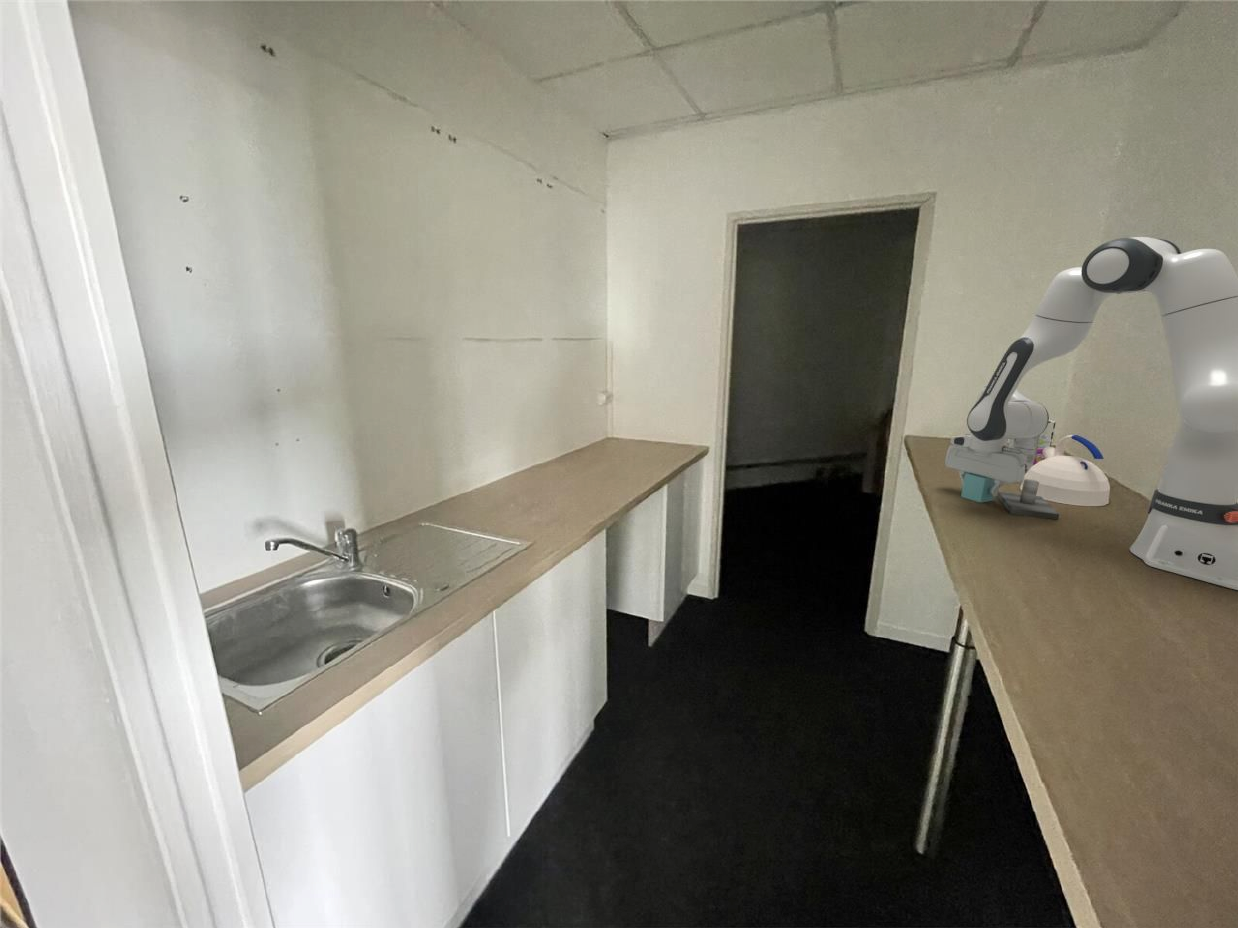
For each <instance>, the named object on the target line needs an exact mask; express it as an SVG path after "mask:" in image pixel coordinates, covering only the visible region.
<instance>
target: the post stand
mask: <svg viewBox="0 0 1238 928" xmlns="http://www.w3.org/2000/svg"><path fill="white" fill-rule="evenodd" d="M1038 485H1039V482H1038V481H1035V480H1029V479H1025V480H1024V483H1023V488H1022V491H1021V492H1020V493H1013V492H1005V491H998V493H997V495H996V496H997V498H998V499H999V501H1000V503H1002V504H1003V506H1004V507H1005V508H1006V509H1007V511H1008V512H1009V514H1010V515H1016V516H1025V517H1033V518H1041V519H1050V520H1055V521H1058V520H1059V519H1060V513H1059V512H1058V511H1057V510H1056V509H1055V508H1053V506H1052V505H1051V504H1049V502H1048V501H1047V500H1044V499H1043V498H1042V497H1041V496H1036V494H1037V490H1038Z"/></svg>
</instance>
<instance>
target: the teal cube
mask: <svg viewBox="0 0 1238 928" xmlns="http://www.w3.org/2000/svg"><path fill="white" fill-rule="evenodd" d="M994 481H995V479H991V478H988V477H984V476H980V475H976V474H972V473H969V472H968V473H966V474H965V478H964V483H963V486H962V489H961V495H960V497H961V498H963V499H967V500H971V501H974V502H977V503H980V504H981V503H986V502H991V501H994V499H995V496H996V495H992V494H988V491H989V488H992V487H994V486H995V485H996V483H994Z"/></svg>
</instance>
